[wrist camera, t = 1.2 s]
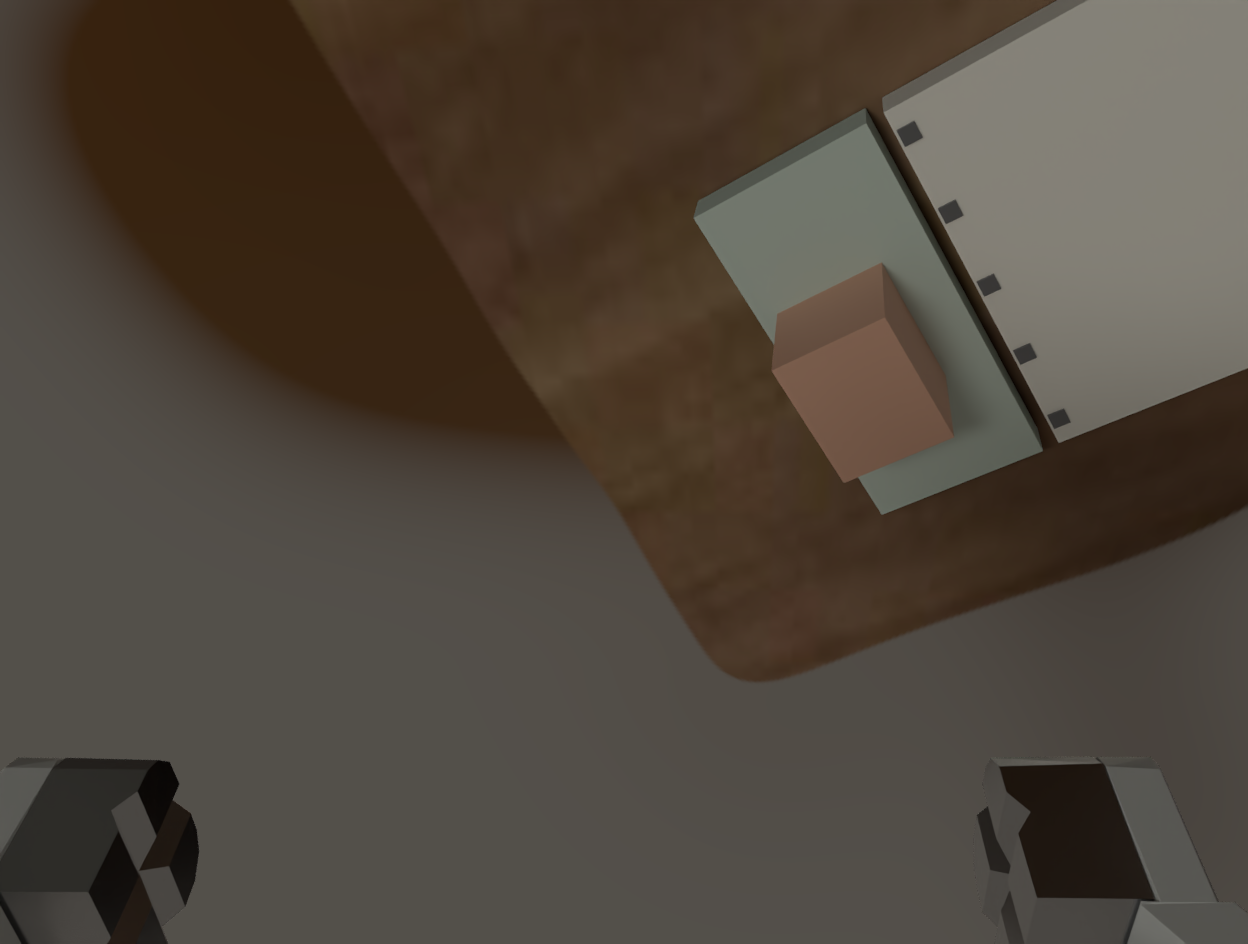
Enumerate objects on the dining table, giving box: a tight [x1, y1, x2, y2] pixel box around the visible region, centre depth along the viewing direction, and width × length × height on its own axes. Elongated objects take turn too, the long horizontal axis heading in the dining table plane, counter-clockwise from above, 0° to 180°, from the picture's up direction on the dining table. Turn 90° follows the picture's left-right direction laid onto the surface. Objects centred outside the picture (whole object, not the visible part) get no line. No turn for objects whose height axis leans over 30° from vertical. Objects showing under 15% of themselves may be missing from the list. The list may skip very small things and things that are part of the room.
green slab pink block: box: [694, 108, 1043, 515], centre depth 41 cm, size 6×14×6 cm, turn 33°
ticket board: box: [882, 0, 1248, 443], centre depth 38 cm, size 14×14×2 cm
